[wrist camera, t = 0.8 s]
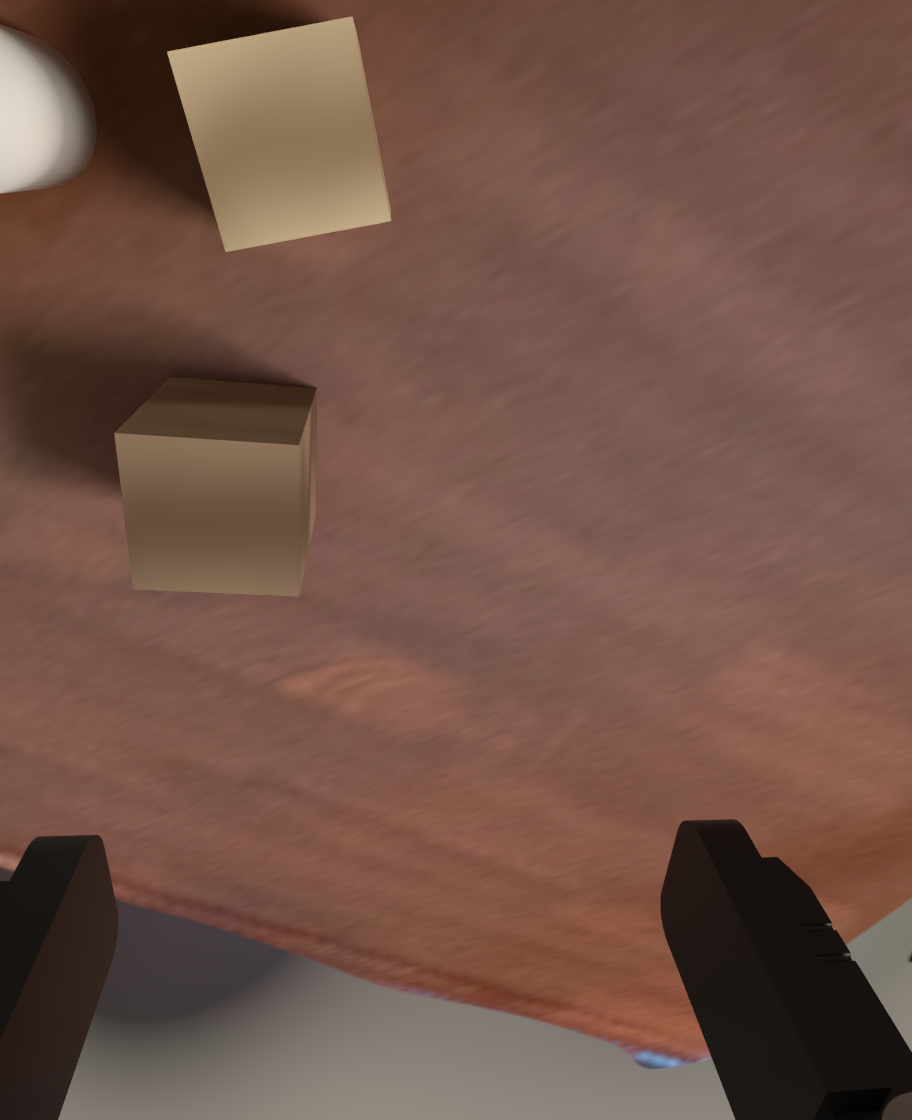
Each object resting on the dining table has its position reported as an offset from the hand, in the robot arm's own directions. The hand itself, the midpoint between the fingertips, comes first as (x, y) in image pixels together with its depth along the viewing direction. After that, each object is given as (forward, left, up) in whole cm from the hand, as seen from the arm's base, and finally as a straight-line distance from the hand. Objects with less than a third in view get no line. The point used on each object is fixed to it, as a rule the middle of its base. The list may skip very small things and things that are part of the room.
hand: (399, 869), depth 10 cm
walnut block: (+1, -5, -19) cm, 20 cm away
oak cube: (-9, -3, -19) cm, 21 cm away
